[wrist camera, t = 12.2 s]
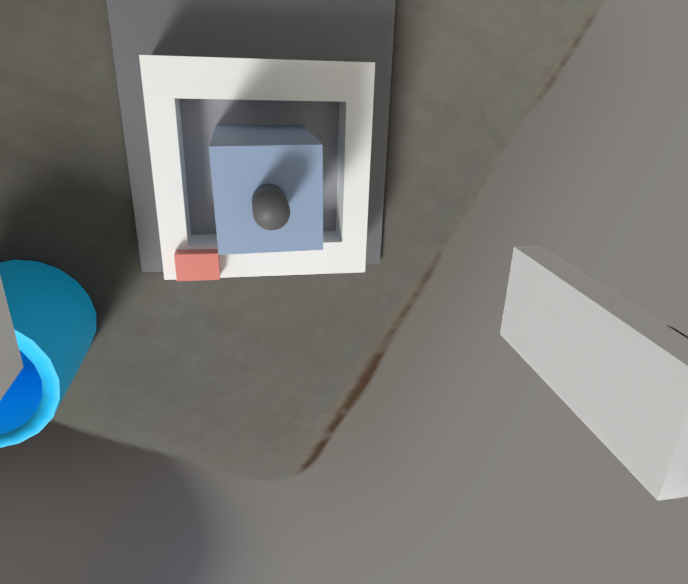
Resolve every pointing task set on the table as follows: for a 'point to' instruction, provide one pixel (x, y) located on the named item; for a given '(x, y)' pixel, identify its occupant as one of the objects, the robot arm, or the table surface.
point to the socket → (252, 119)
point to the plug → (267, 188)
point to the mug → (42, 343)
